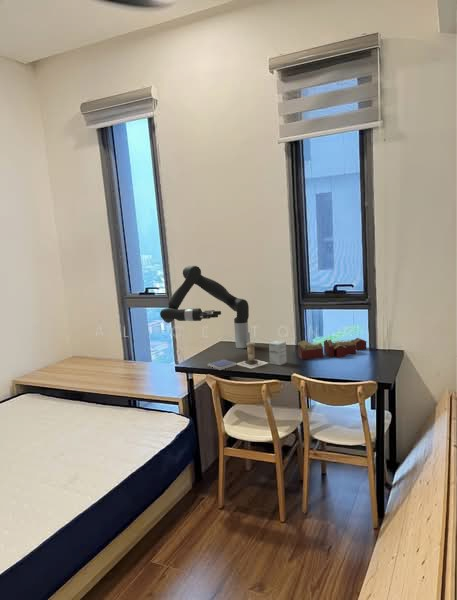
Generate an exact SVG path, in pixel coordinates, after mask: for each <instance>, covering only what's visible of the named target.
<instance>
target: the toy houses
mask: <svg viewBox="0 0 457 600" xmlns="http://www.w3.org/2000/svg"><path fill="white" fill-rule="evenodd" d="M367 343H368V341H367V340H364V339H362V338H359V337H356V338H355V339H349V340H348V339H347V340H345V339H344V340H337V341H335V340H334V341H333V340H332V339H324V341H323V344H322V342H315V343H312V342H309V341H307V340H301V341H300V342H298V343H297V353H298V355H297V356H298V357H299V358H300V359H301V360H313V359H314V358H315V359H323V358H324V355H325V356H326V357H328V358H329V359H330V358H334V357H336V358H337V359H340V358H346V356H348V355H347V354H351V355H356V354H357V351H367ZM356 350H357V351H356Z"/></svg>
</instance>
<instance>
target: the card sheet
mask: <svg viewBox="0 0 457 600" xmlns="http://www.w3.org/2000/svg"><path fill="white" fill-rule="evenodd" d="M255 360H257V361H258V363H257V364H253V365H249V364H245V361H246V360H243V361H239V362H237V363H236V366H240V367H242V368H243V367H244V368H247V369H249V370H250V369H251V370H252V369H255V368H258V367H261V366H264V365H268V364H269V362H266V361H262V360H259V359H256V358H255Z"/></svg>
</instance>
